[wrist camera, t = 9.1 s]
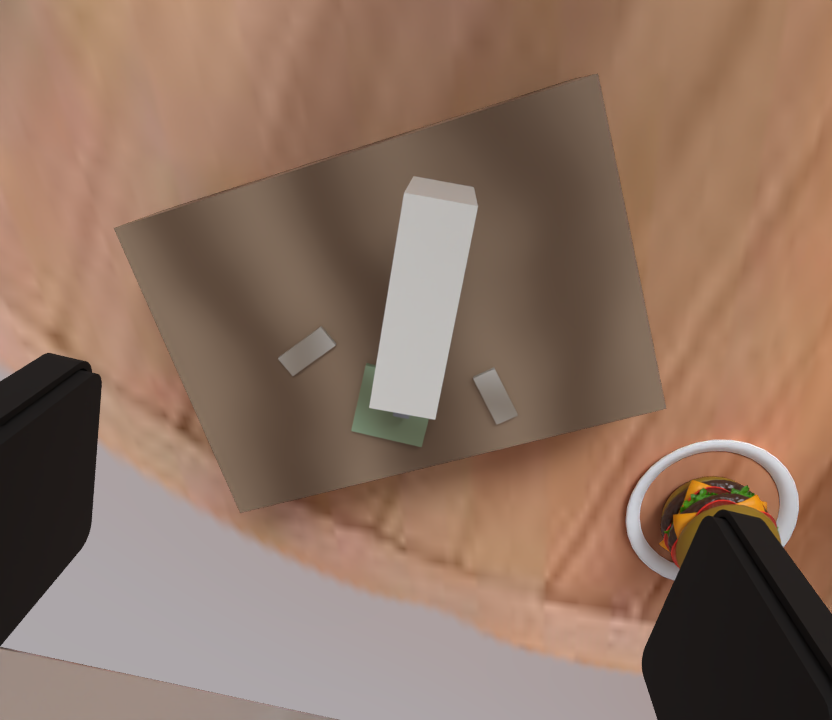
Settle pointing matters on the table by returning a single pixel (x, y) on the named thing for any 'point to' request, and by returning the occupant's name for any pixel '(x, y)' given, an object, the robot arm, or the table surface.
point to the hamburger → (708, 503)
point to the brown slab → (368, 288)
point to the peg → (423, 296)
